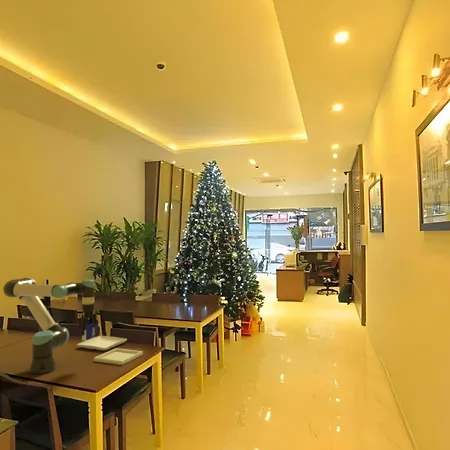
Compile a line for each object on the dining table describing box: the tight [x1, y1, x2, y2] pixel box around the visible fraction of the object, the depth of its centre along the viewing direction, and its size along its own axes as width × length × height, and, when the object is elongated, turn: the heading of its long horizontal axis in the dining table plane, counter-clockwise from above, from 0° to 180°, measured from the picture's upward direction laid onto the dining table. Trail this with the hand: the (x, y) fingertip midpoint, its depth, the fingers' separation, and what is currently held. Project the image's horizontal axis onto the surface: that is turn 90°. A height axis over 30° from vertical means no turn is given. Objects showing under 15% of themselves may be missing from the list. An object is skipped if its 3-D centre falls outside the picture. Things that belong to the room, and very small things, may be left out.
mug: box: [79, 321, 98, 340], centre depth 242 cm, size 8×12×10 cm
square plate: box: [76, 335, 128, 351], centre depth 287 cm, size 27×27×4 cm
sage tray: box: [93, 347, 144, 366], centre depth 256 cm, size 23×23×2 cm
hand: (88, 338), depth 242 cm, fingers closed on mug, 7 cm apart
